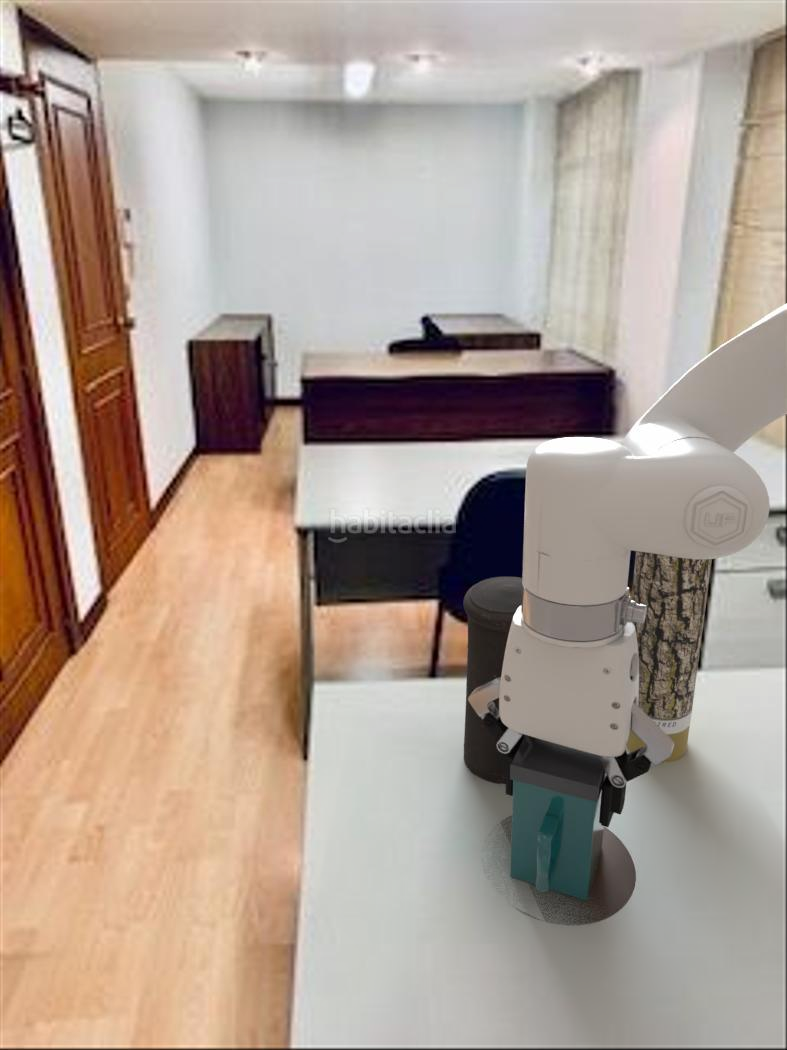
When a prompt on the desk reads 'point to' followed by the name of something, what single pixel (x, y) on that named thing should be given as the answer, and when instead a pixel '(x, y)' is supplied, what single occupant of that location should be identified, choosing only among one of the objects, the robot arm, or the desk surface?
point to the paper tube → (669, 641)
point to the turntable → (592, 882)
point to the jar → (556, 816)
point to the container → (487, 664)
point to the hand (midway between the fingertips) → (560, 798)
